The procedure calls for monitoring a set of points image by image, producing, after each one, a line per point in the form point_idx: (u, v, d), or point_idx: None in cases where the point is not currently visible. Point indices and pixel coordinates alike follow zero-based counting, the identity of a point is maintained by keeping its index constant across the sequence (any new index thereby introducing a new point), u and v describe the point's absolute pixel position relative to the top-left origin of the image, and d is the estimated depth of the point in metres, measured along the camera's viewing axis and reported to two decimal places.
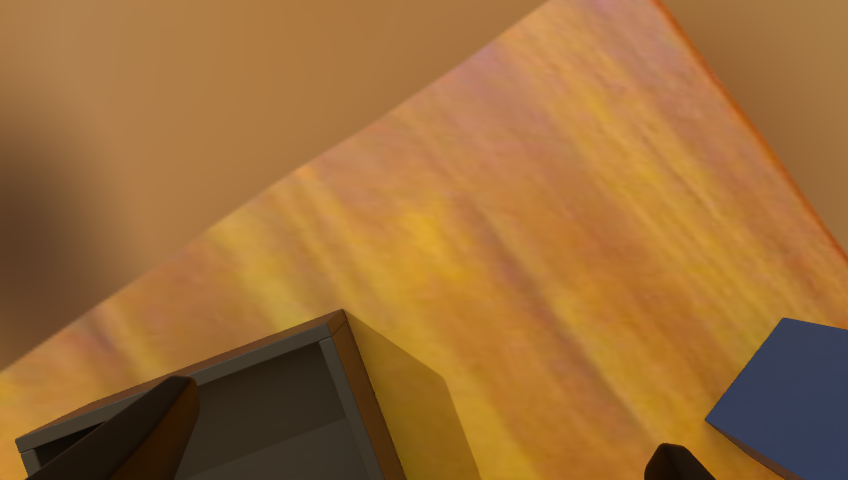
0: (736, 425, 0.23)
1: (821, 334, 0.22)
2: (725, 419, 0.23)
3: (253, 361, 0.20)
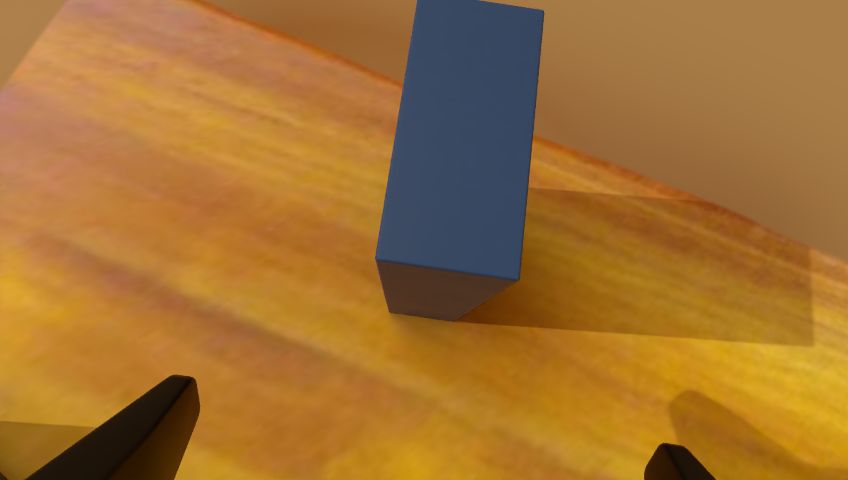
0: None
1: None
2: None
3: None
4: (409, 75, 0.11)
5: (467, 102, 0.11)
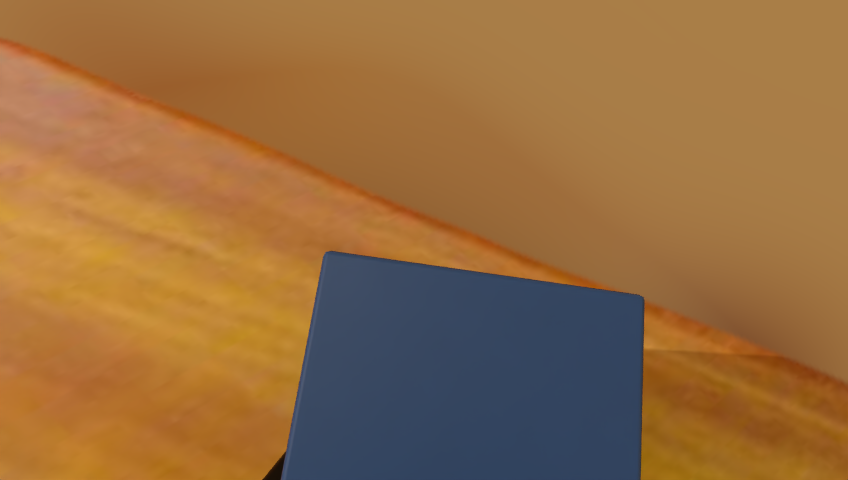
0: None
1: None
2: None
3: None
4: None
5: None
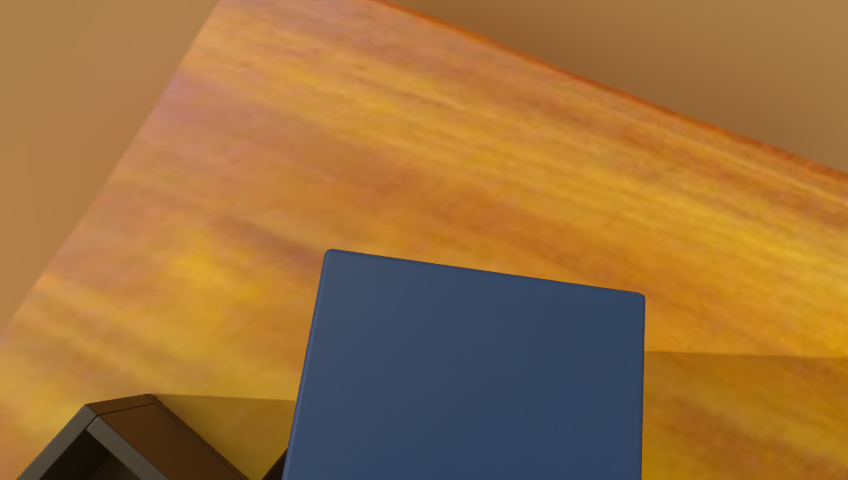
0: None
1: None
2: None
3: None
4: None
5: None
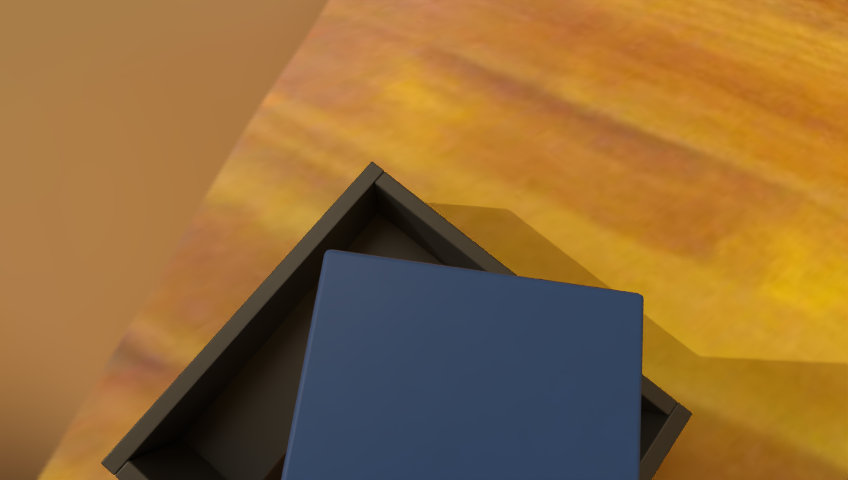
0: None
1: None
2: None
3: (321, 235, 0.17)
4: None
5: None
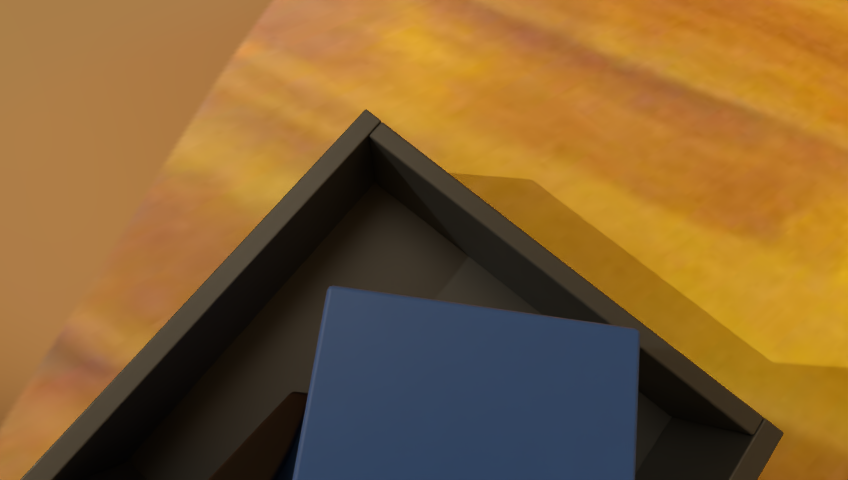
0: None
1: None
2: None
3: (300, 201, 0.14)
4: None
5: None
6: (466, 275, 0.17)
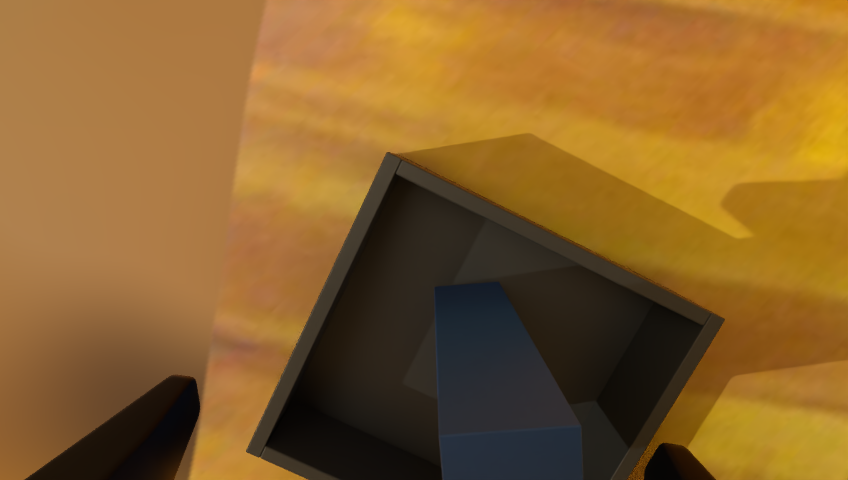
0: None
1: None
2: None
3: (359, 237, 0.18)
4: None
5: None
6: (489, 229, 0.22)
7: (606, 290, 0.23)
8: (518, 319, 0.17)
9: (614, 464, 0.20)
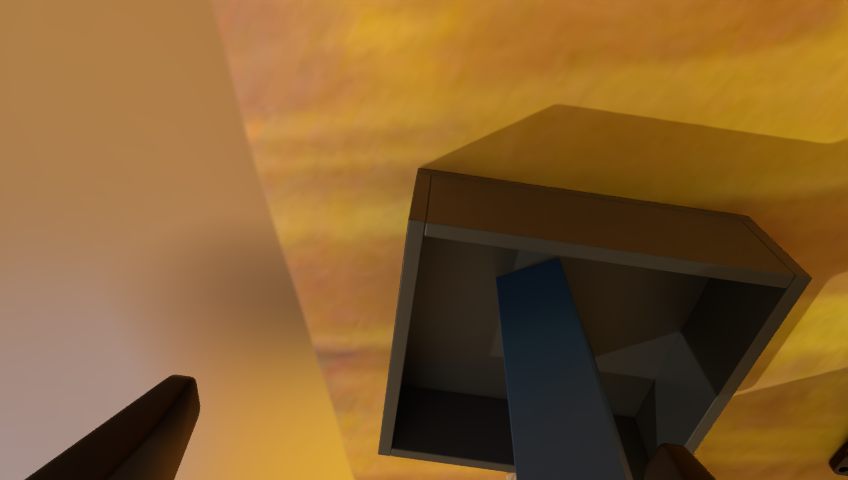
0: None
1: None
2: None
3: (410, 295, 0.19)
4: None
5: None
6: None
7: None
8: (583, 344, 0.17)
9: (703, 405, 0.21)
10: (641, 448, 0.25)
